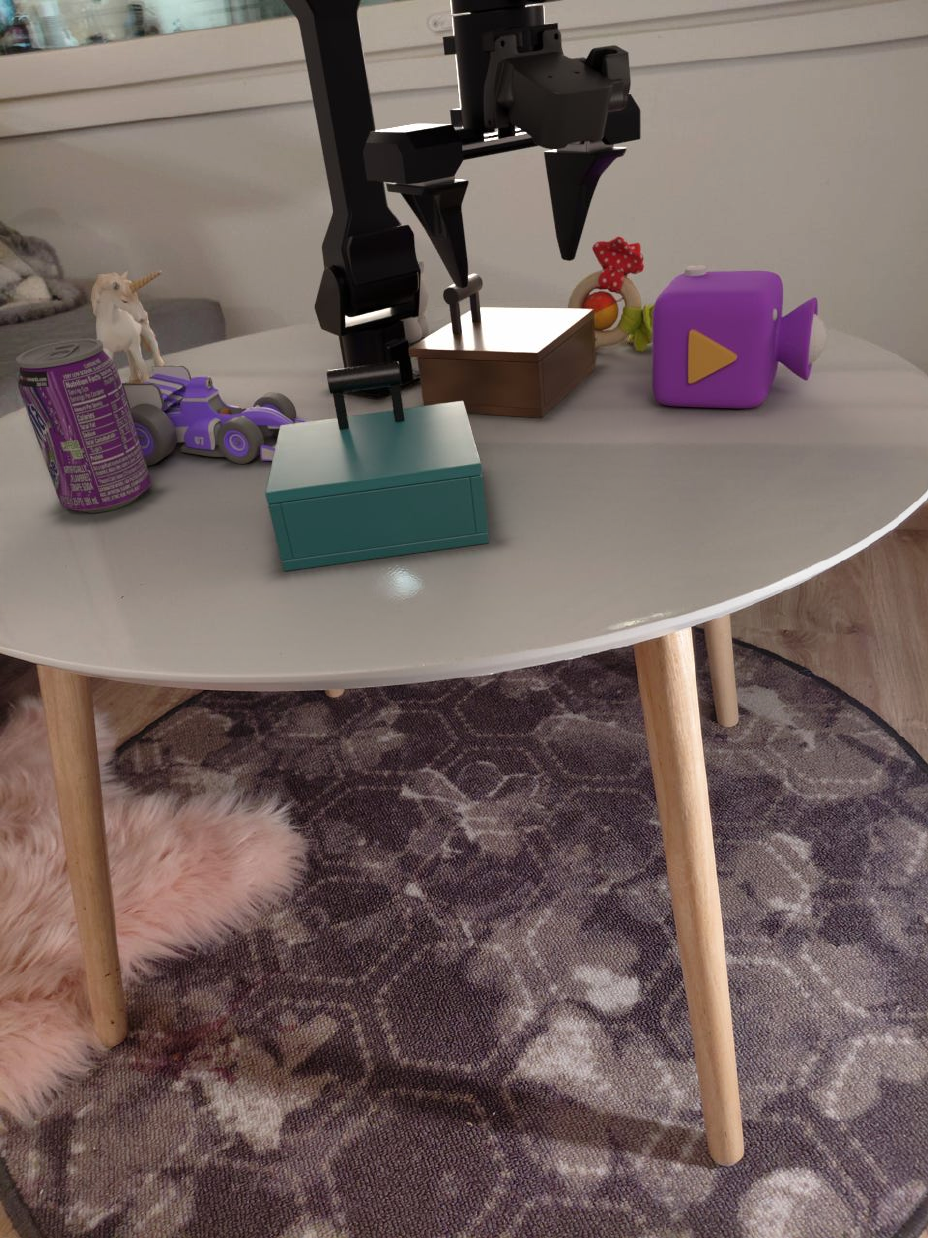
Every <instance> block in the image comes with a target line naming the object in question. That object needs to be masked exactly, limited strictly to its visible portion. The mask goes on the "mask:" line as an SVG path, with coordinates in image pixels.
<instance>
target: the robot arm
mask: <svg viewBox="0 0 928 1238" xmlns="http://www.w3.org/2000/svg"><path fill="white" fill-rule="evenodd" d="M282 1H283V2H284V3H285V5H286V6H287V7H288V9H289V10H290V12H291V13H292V14H293V16H294V17H295V18H296V20H297V22H298V26H299V31H300V36H301V41H302V47H303V52H304V58H305V65H306V69H307V75H308V80H309V85H310V92H311V97H312V103H313V108H314V113H315V119H316V125H317V130H318V135H319V141H320V146H321V147H320V148H321V150H322V156H323V157H322V158H323V163H324V168H325V174H326V180H327V185H328V190H329V196H330V201H331V208H332V214H331V217H330V220H329V223H328V226H327V229H326V232H325V236H324V238H323V241H322V242H321V243H322V244H321V255H322V261H323V272H322V274H321V275H322V276H321V278H320V283H319V287H318V290H317V294H316V298H315V303H314V311H315V314H316V318H317V321H318V324H319V327H320V329H321V330H323V331H325V332H327V333H330V334H332V335H335V336H337V337H338V340H339V347H340V351H341V352H340V353H341V357H342V358H341V359H342V364H343V368H350V367H357V366H364V365H372V364H379V363H387V362H394V361H398V362H399V368H400V375H401V382H402V384H401V385H400V390H401V391H402V390H403V389H405V388H408V387H410V386H412V385H415V384H417V383H421V382H420V374H419V373H416V372H414V371H413V365H412V357H409V351H408V348H410V343H409V342H408V339H407V338H406V334H405V327H404V321H400V320H403V319H407V318H411V317H412V318H415V317H418V316H419V305H420V282H421V269H420V267H419V264H418V263H419V261H418V258H417V253H416V244H415V243H416V242H415V241H416V240H415V233H414V231H413V230H412V227H411V225H409V224H408V223H406V224H403V223H402V222H401V221H400V219H399V218H398V217H397V216H396V214H395V213H394V212H393V210H392V209H391V208H390V206H389V204H388V200H387V195H386V193H387V192H389V193H397V194H400V195H401V196H402V198H403V200H404V201H405V203H406V204H407V206H409V208H410V210H411V211H412V213H413V214H414V216H415V217H416V218H417V220H418V221H419V223H420V225H421V226H422V228H423V229H424V231H425V233H426V234H427V236H428V238H429V240H430V241H431V243H432V245H433V247H434V249H435V251H436V253H437V254H438V257H439V258H440V261H441V262H442V264H443V265H444V267H445V269H446V272H447V273H448V275H449V277H450V278H451V280H452V282H453V284H455V285H456V286H457V287H459V288H467V287H468V276H469V261H468V252H467V245H466V242H467V241H466V235H465V226H464V219H463V209H462V208H463V207H462V206H463V201H464V199H465V195H466V193H467V190H468V187H469V184H470V183H469V180H468V179H460V178H459V179H458V178H456V174H457V172H458V171H459V170H460V169H459V168H460V167H461V165H462V164H463V163H464V161H467V160H471V159H472V160H473V159H477V158H482V157H488V156H493V155H497V154H498V155H499V154H503V153H509V152H515V151H519V150H523V149H529V148H534V147H541V148H543V149H548V150H545V151H543V157H544V163H545V164H544V165H545V171H546V175H547V176H546V178H547V182H548V183H547V185H548V190H549V198H550V204H551V211H552V218H553V224H554V230H555V231H554V232H555V237H556V242H557V246H558V249H559V253H560V258H561V259H562V260H563V261H568V262H571V261H574V260H575V259H576V256H577V252H578V249H579V246H580V241H581V237H582V235H583V231H584V227H585V224H586V220H587V217H588V213H589V210H590V207H591V203H592V200H593V198H594V194H595V191H596V189H597V186H598V184H599V181H600V179H601V177H602V175H603V174H604V173H605V172H606V171H607V169H608V168H609V167H610V166H611V164H613V162H614V161H615V160H617V159H618V158H622V157H624V155H625V154H626V152H627V149H628V148H627V147H625V146H614V145H617V144H623V143H628V142H633V141H638V140H641V139H642V134H641V133H642V130H641V129H642V122H641V121H642V120H641V119H642V117H641V115H642V114H641V112H642V111H641V109H640V106H639V105H638V104H637V101H636V100H635V98H634V96H633V95H632V93H630V91H631V85H632V80H631V67H630V55H629V54H630V53H629V52H628V51H627V50H625V49H624V48H621V47H619V46H618V45H615V44H614V45H607V46H599V47H593V48H591V50H590V51H589V53H588V55H587V56H586V57H584V56H581V57H575V58H571V57H569V56H566V55H565V54H564V50H563V45H562V44H563V43H562V42H563V41H562V33H561V31H560V30H559V23H558V22H553V23H552V22H551V23H546V19H545V17H546V16H545V15H546V14H545V5H544V4H548V3H555V2H562V1H563V0H449V1H450V11H451V15H452V16H451V21H452V22H451V23H452V33H453V35H448V36H447V35H446V36H442V45H443V54H444V56H451V55H453V56H454V55H455V64H456V77H457V85H458V94H459V96H458V97H459V108H453V109H449V115H450V123H413V124H406V125H400V126H395V127H389V128H382V129H376V122H375V116H374V111H373V103H372V98H371V97H372V96H371V91H370V83H369V77H368V72H367V65H366V59H365V51H364V46H363V38H362V33H361V32H362V31H361V26H360V18H359V8H360V4H361V2H362V0H282ZM456 128H459V129H456ZM385 187H386V188H385ZM344 393H346V394H350V395H354V396H355V395H356V396H360V397H365V398H369V399H375V400H377V399H383V398H385V397H387V396H389V395H391V391H390V386H387V387H380V388H372V389H365V390H357V391H350V392H344Z"/></svg>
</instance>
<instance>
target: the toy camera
mask: <svg viewBox="0 0 928 1238" xmlns="http://www.w3.org/2000/svg"><path fill="white" fill-rule="evenodd" d="M654 303H655V305H654V309H653V326H652V342H651V345H652V391H653V396H654V398H655V401H656V402H658V403H659V404H661V405H664V406H668V407H669V406H670V407H680V408H681V407H684V408H707V409H709V408H710V409H711V408H713V409H714V408H716V409H751V408H756V407H758V406H760V405H762V403H763V402H764V401H765V400H766V399H767V397H768V395H769V393H770V390H771V388H772V386H773V383H774V380H775V378H776V375H777V372H778V366H779V363H780V364H782V365H784V366H785V368H787V369H788V370H789V371H791V372H792V373H793V374H794V375H796V376H797V377H799V378H800V379H802V380H803V381H808V380H809V379H810V377H811V374H812V366H813V364H814V363H815V362H816V361H817V360H818V359H819V358H820V357H821V356H822V353H823V352H824V350H825V348H826V344H827V329H826V326H825V323H824V321H823V320H822V318H821V317H820V316H818V311H819V310H818V308H819V307H818V306H819V305H818V298H817V297H812V298H810V299H808V300H806V301H805V302H803V303H802V304H800V305H798V306H797V307H796V308H794V309H793V310H791V311H790V312H789V313H787V314H785V315H783V309H784V307H783V305H784V284H783V280H782V278H781V276H780V275H779V274H778V273H777V272H774V271H770V270H721V271H720V270H717V271H716V270H715V271H714V270H713V271H707V266H705V265H701V264H697V265H689V266H686V267H685V269H684V273H681V274H678V275H677V276H675V277H674V278H673V279H672V280H671V281H670V282H669V284H668V285H666V287H665V288H664V289H663V290H662V291H661V293H660V294H659V295H658V297H657V298H656V299H655V302H654Z"/></svg>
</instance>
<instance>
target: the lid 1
mask: <svg viewBox="0 0 928 1238" xmlns="http://www.w3.org/2000/svg"><path fill="white" fill-rule="evenodd" d="M326 380H327V386H328V391H329V393H330V395H332V397H333V398H332V399H333V403H334V407H335V408H334V409H335V415H336V417H333V418H326V419H319V420H318V419H317V420H309V421H310V422H302V423H295V424H288V425H281V426H280V430H279V434H278V437H276V438H277V439H276V443H275V445H276V447H275V452H274V456H273V461H271V464H270V465H271V466H270V470H269V474H268V479H267V483H266V487H265V492H264V494H265V498H266V502H267V505H268V504H271V503H279V502H286V501H293V500H301V499H308V498H315V497H323V496H330V495H337V494H345V493H352V492H359V491H366V490H374V489H381V488H388V487H396V486H403V485H410V484H418V483H425V482H432V481H440V480H447V479H454V478H461V477H469V476H476V475H482V476H483V469H482V468H483V467H482V462H481V458H480V454H479V452H478V447H477V444H476V441H475V440H476V439H475V436H474V433H473V429H472V427H471V422H470V420H469V415H468V413H467V412H466V408H465V405H464V401H458V402H450V403H443V404H436V405H428V406H424V405H422V406H421V405H420V406H414V407H406V408H404V405H403V397H402V389H401V390H400V385H401V384H402V382H401V375H400V368H399V362H398V361H394V362H387V363H379V364H372V365H364V366H357V367H350V368H344V367H342V368H336V369H335V368H334V369H328V370H326ZM387 386H390V391H391V394H390V397H391V404H392V405H391V406H392V409H391V410H385V411H377V412H371V413H370V412H369V413H363V414H354V415H348V410H347V406H346V401H345V395H344V393H345V392H350V391H357V390H365V389H372V388H380V387H387Z"/></svg>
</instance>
